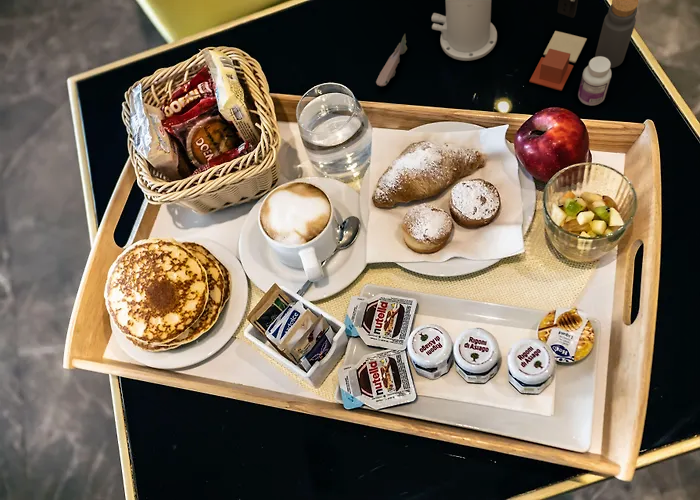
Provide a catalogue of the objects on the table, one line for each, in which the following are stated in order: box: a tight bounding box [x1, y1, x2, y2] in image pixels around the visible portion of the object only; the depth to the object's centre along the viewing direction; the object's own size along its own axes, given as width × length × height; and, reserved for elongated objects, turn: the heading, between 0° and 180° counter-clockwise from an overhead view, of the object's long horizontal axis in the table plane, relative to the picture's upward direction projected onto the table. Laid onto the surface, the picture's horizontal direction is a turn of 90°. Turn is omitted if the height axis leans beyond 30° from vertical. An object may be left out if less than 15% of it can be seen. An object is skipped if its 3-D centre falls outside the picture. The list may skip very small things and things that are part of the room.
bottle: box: [594, 0, 639, 69], centre depth 122 cm, size 6×6×15 cm
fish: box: [375, 33, 408, 87], centre depth 135 cm, size 3×14×5 cm, turn 153°
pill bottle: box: [577, 56, 612, 106], centre depth 121 cm, size 5×5×10 cm
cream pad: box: [543, 30, 588, 64], centre depth 132 cm, size 7×7×1 cm
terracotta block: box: [539, 48, 570, 84], centre depth 127 cm, size 4×4×4 cm
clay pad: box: [529, 56, 574, 92], centre depth 129 cm, size 7×7×1 cm
